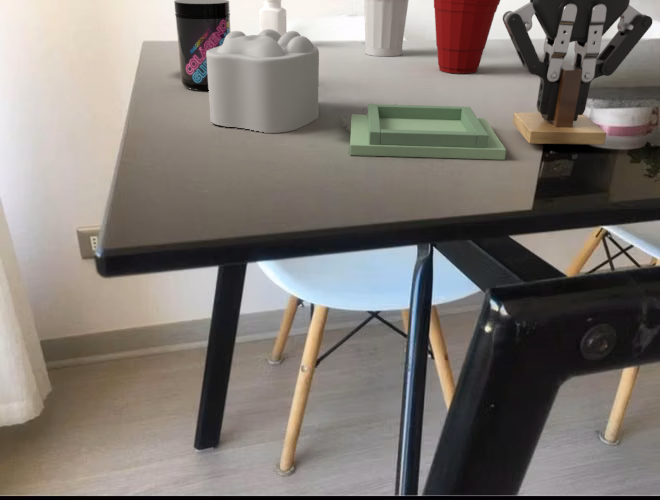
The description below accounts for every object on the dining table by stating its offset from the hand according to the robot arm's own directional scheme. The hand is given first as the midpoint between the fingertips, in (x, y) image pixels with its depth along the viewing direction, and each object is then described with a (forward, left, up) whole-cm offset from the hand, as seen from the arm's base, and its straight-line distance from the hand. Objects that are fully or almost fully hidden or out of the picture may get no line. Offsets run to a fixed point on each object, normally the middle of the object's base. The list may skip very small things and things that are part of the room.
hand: (559, 118), depth 61 cm
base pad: (+13, +1, -2) cm, 14 cm away
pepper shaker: (+35, -57, -3) cm, 67 cm away
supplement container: (+39, -21, -3) cm, 45 cm away
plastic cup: (+4, -37, -3) cm, 37 cm away
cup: (+15, -51, -3) cm, 53 cm away
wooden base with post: (0, 0, -2) cm, 2 cm away
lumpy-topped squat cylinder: (+29, -7, -3) cm, 30 cm away
